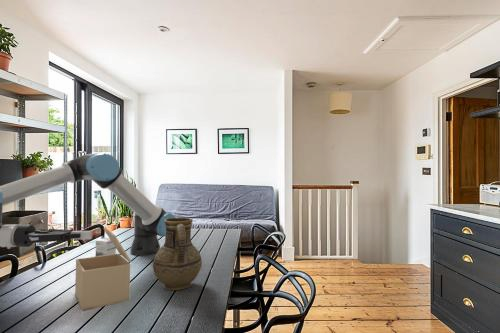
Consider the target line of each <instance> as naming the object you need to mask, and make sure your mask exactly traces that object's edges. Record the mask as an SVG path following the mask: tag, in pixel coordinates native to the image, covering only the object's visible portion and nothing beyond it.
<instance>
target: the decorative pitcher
mask: <svg viewBox="0 0 500 333" xmlns="http://www.w3.org/2000/svg"><path fill="white" fill-rule="evenodd" d="M193 221H194V220H193V218H190V217H176V218H169V219H165V220H164V222H165V227H166V235H165V237H164V238H165V240H164V244H163V245H162V246H160V250H159V251H158V252H157V253H155V256H154V258H153V262H152V269H153V273H154V275H155V277H156V278H157V280H158V281H160V283H162V284H163V285H164V288H165V289H166V290H171V291H182V290H185V289H188V288H190V287H191V286H192V282H193V281H195V279H196V278H197V277H198V276H199V273H200V271H201V269H202V265H203V260H202V256H201V253H200V252H199V249H198V248H197V247H196V246H195V245H194V244H193V243H192V238H191V233H192V227H193Z"/></svg>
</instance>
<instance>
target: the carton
mask: <svg viewBox="0 0 500 333" xmlns="http://www.w3.org/2000/svg"><path fill="white" fill-rule="evenodd" d="M74 283H75V286H74V287H75V289H74V290H75V291H74V293H75V294H74V295H75V297H76V300H77V303H78V304H79V306H80V309H81V311H83V312H84V311H87V310H88V311H89V310H92V309H97V308H101V307H107V306H110V305H113V304H119V303H124V302H129V301H130V294H131V291H130V290H131V289H130V287H131V262H129V261H128V260H126V259H125V258H124V257H123V256H122V255H121V254H120V253H116V254H111V255H104V256H97V257H96V256H91V257H90V256H89V257H82V258H76V259H75V282H74Z"/></svg>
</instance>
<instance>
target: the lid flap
mask: <svg viewBox="0 0 500 333" xmlns="http://www.w3.org/2000/svg"><path fill="white" fill-rule="evenodd" d="M103 230H104V232H105V233H106V235H107V236H108V237H107V238H110V240H111V241H112V243H113V244H114V246H115V248H116V252H118V254H120V255H121V256H122V257H123V258H124V259H125V260H126V261H127V262H128V263H131V262H132V260H131V259H130V258H131V257H129V254H127V251H126V250H125V248H124V247H123V246H122V244H121V242H120V241H119V239H118V238H117V236H116V234H114V233H113V232H111V230H109V229H107V228H106V227H103Z"/></svg>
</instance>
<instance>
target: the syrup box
mask: <svg viewBox="0 0 500 333" xmlns="http://www.w3.org/2000/svg"><path fill="white" fill-rule="evenodd" d="M116 252H117V249H116V248H115V246H114V244H113V243H112V241H111V240H110V238H109V237H102V238H98V239H96V240H95V257H97V256H104V255H111V254H117V253H116Z"/></svg>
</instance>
